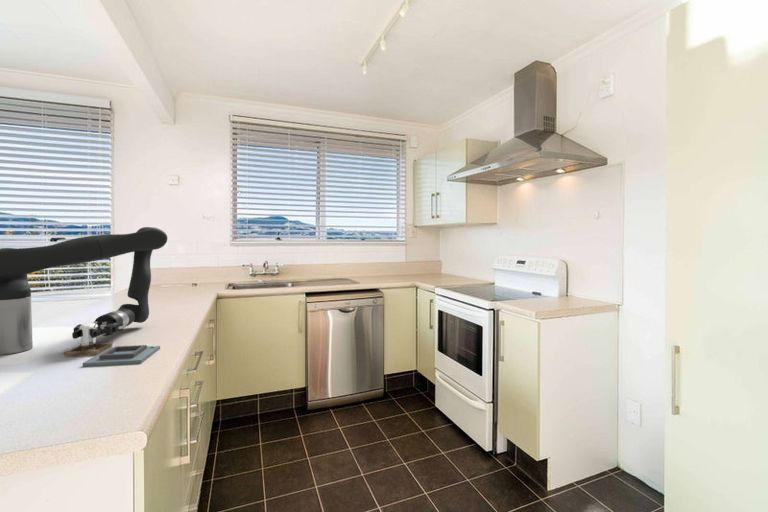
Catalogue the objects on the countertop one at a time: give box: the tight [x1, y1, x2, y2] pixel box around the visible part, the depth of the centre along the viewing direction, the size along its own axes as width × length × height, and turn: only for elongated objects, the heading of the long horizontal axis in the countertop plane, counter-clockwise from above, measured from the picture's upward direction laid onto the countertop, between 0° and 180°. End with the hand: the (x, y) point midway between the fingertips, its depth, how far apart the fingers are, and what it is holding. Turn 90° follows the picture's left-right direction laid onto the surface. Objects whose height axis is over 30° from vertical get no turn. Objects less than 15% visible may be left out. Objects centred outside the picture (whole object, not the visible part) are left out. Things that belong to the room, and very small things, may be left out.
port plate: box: [82, 344, 161, 368], centre depth 109 cm, size 15×14×2 cm
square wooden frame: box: [63, 342, 113, 358], centre depth 114 cm, size 9×9×1 cm
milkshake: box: [79, 322, 98, 351], centre depth 114 cm, size 5×5×10 cm
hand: (83, 335), depth 111 cm, fingers closed on milkshake, 4 cm apart
